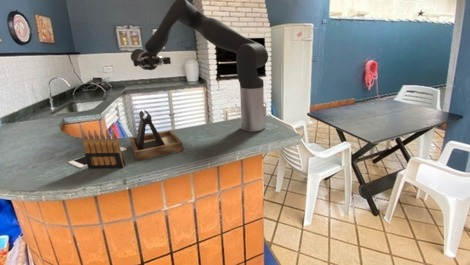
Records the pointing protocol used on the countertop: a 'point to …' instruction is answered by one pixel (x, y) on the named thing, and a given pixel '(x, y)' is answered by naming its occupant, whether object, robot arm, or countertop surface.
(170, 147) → the shallow tray
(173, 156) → the countertop surface
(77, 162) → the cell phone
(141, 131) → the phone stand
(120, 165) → the ammunition clip
